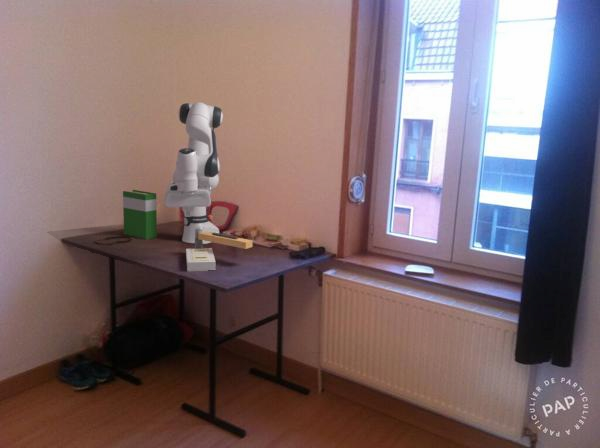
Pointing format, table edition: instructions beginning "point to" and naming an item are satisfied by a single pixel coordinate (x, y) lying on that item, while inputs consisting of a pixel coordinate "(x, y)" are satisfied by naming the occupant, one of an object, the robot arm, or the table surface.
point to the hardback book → (140, 214)
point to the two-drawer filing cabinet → (200, 258)
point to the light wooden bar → (223, 239)
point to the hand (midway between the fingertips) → (188, 216)
